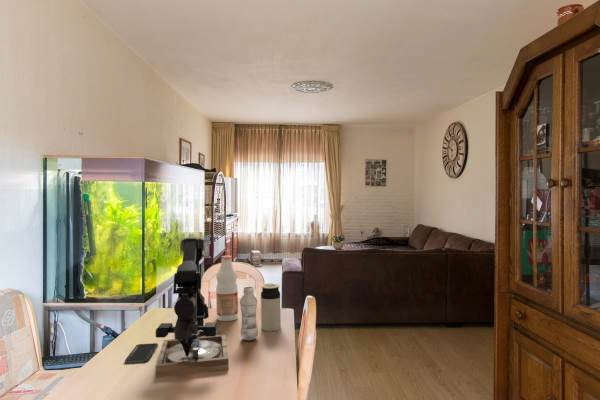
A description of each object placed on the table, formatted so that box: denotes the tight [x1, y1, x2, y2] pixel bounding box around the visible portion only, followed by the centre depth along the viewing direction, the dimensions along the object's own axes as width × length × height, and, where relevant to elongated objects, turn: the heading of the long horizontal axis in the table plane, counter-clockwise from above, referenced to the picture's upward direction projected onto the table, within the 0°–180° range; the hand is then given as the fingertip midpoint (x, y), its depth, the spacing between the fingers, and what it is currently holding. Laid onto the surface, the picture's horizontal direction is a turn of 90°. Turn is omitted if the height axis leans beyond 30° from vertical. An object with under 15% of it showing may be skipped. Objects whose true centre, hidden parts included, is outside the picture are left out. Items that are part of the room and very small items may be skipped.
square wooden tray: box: [155, 334, 230, 378], centre depth 135 cm, size 22×22×4 cm
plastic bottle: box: [239, 286, 259, 341], centre depth 152 cm, size 6×7×20 cm
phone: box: [124, 342, 159, 365], centre depth 139 cm, size 8×1×15 cm
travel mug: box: [260, 282, 282, 332], centre depth 164 cm, size 8×8×18 cm
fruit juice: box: [215, 255, 239, 322], centre depth 177 cm, size 9×9×28 cm
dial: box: [166, 338, 221, 363], centre depth 135 cm, size 18×18×5 cm
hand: (187, 356), depth 127 cm, fingers closed
